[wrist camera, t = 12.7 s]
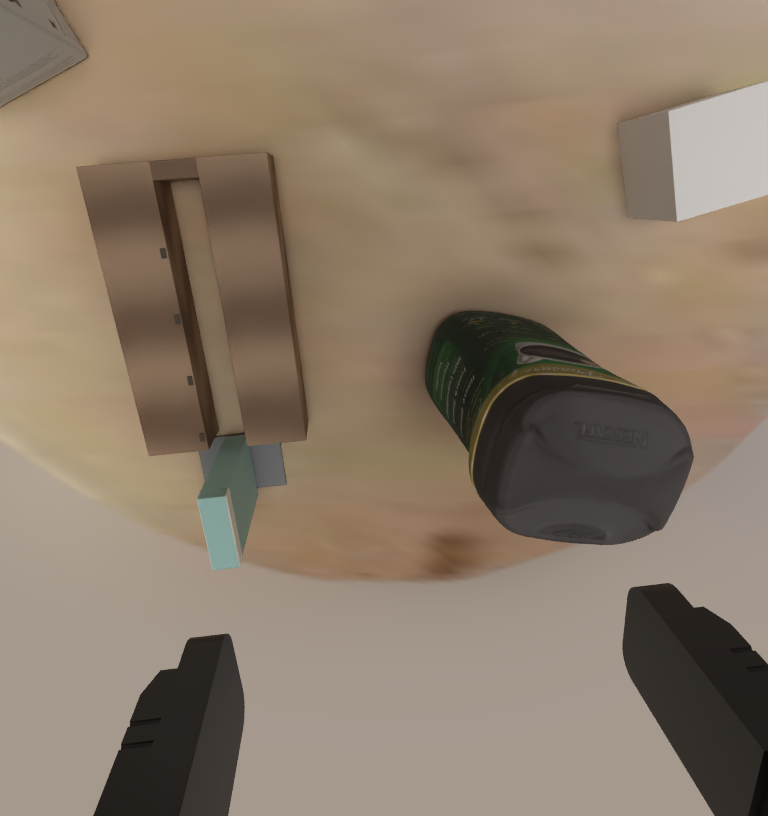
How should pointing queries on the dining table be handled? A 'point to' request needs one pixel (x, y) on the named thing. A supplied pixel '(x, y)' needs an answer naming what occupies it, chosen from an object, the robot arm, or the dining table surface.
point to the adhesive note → (696, 155)
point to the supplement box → (33, 45)
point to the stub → (228, 503)
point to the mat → (263, 459)
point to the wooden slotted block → (173, 303)
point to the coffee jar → (555, 433)
